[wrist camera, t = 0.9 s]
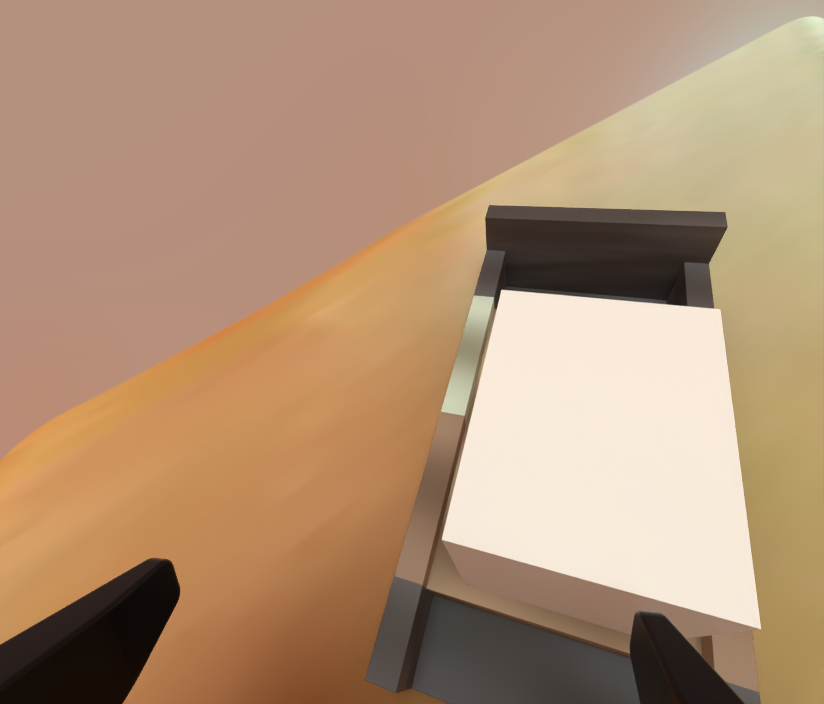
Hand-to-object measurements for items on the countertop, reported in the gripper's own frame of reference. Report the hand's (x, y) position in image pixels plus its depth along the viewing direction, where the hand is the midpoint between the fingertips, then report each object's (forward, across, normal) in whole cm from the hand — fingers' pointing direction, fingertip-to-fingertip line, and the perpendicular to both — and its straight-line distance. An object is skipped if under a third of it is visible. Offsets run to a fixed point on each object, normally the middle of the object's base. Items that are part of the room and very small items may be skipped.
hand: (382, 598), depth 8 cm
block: (+11, -5, +6) cm, 13 cm away
